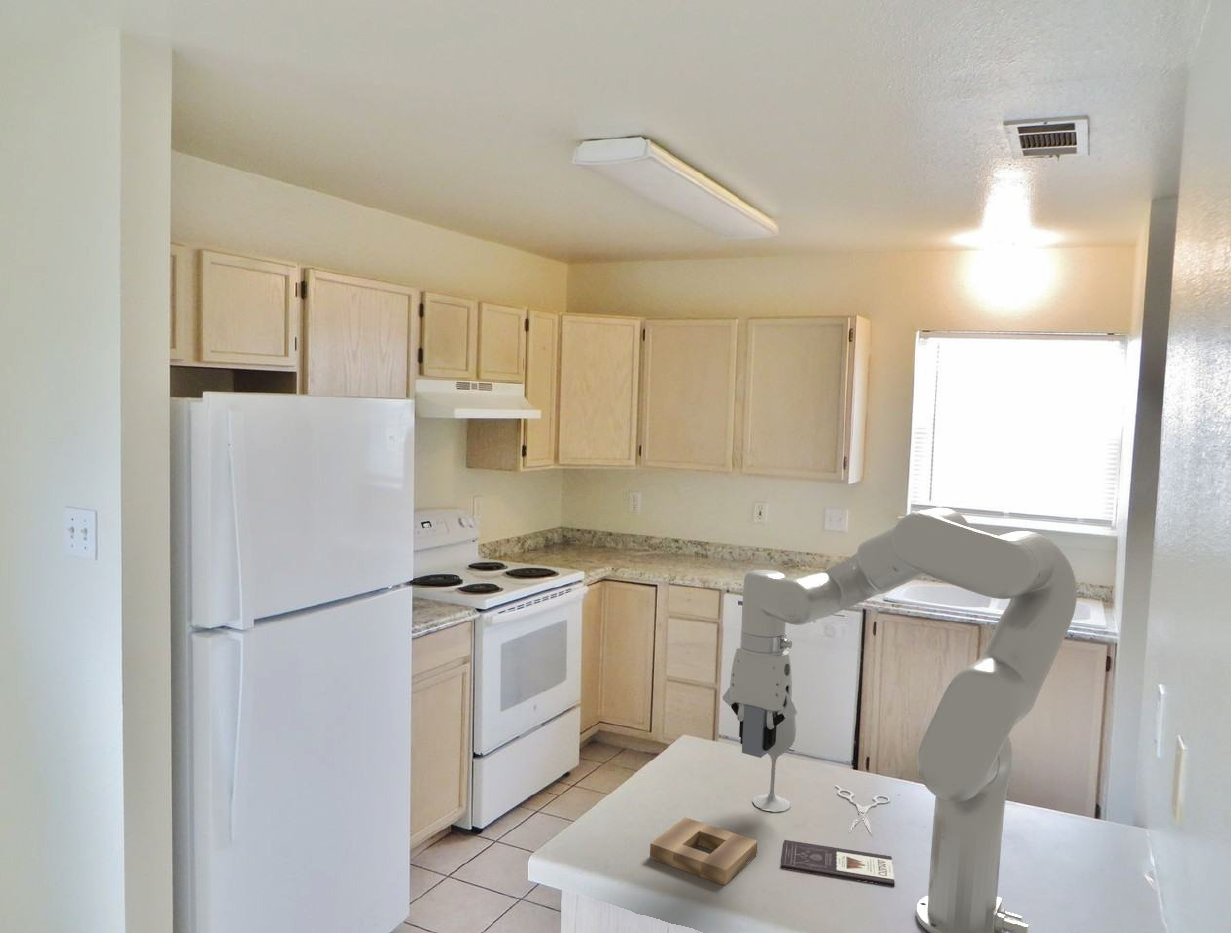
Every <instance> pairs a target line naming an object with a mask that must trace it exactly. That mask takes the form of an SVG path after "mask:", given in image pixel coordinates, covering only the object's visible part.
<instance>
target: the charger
mask: <svg viewBox="0 0 1231 933" xmlns="http://www.w3.org/2000/svg"><path fill="white" fill-rule="evenodd" d="M766 726H767V721H766V710H764V709H761V708H757V707H753V706H749V705H744V719H743V738H742V744H741V754H745V755H748V756H753V757H754V758H755V757H756V758H759V759H761V758H763V757H764V756H766V755H768V754H767V753H768V752H770V751H771V748H770V749H769V750H768V751H764V750H763V739H764V728H766Z"/></svg>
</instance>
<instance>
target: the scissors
mask: <svg viewBox="0 0 1231 933" xmlns="http://www.w3.org/2000/svg"><path fill="white" fill-rule="evenodd" d="M834 787H835V788H836V789H837V791H836V792H837V793H836V794H837V796H839V798H843V799H845V800H847V801H848V802H849V803H851V804H853V805H854V806H856V809H858V810H857V812H858V811H859V812H861V813H862V814H861V815H863V816H864V815H865V814H866V813H867V814H868V812H869V811H870V809H871V808H875V807H877V805H887V804H889V803H891V799H890V797H888V796H887V795H883V794H878V795H875V796H873V797H872V800H873V801H874V803H872V804H870V805H864V806H862V805H860V804H858V803H857V802H855V801H854V800H853V799H852V798H854V797H855V794H854V792H852V791H850V790H848V789H843V788H841V787H840V786H839V784H835V785H834ZM843 792H844V793H847V794H849V795H844V794H842V793H843ZM879 798H884V799H886V801H881V800H880V801H879V800H878V799H879ZM868 810H869V811H868ZM867 811H868V812H867ZM859 812H858V813H859ZM864 817H865V816H864ZM867 817H868V816H867ZM867 817H866V818H865V820H864V818H863V819H862V821H863V820H864V821H863V823H864V825H865V826H866V828H867V830H868V831H869V833H870V834H871V835H870V836H873V833H872V830H871V825H870V820H869V818H868V819H867ZM866 819H867V820H866ZM854 821H858V820H857V819H856V820H855V819H854V820H853V822H852V824H851V827H850V828H849V831H848V833H850V832H851V831H853V829H854V828H855V827H856V826H855V825H854V824H855V822H854ZM865 821H866V822H865ZM856 823H857V822H856ZM854 826H855V827H854ZM852 827H853V829H852ZM850 830H851V831H850Z"/></svg>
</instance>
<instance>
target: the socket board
mask: <svg viewBox="0 0 1231 933" xmlns="http://www.w3.org/2000/svg"><path fill="white" fill-rule="evenodd" d="M649 844H650V847H649V848H650V849H649V858H650V859H653V860H655V861H658V862H660V863H662V864H666V865H667V866H671V867H673V868H677V869H680V870H682V871H685V872H688V873H690V874H692V875H695V876H698V877H701V878H703V879H706V880H708V881H711V880H712V881H711V882H714V881H715V882H714V883H717V882H718V883H717V884H720V883H721V884H720V885H722V884H724V885H723V886H727V885H728V884H729V883H730V882H731V881H732V880H733V879H734V878H735V877H736V876H737V875H738V874H739V873H740V872H741V871H742V870H743V869H744V868H745V867H746V866H747V865H748V864H749V863H750V862H751V861H752V860H753V859H752V858H753V857H754V856H756V854H757V855H758V844H759V843H758V840H755V839H753V838H750V837H746V836H743V835H741V834H738V833H734V832H731V831H728V830H725V829H722V828H719V827H716V826H713V825H710V824H708V823H704V822H700V821H698V820H695V819H692V818H689V817H686V816H685V817H683V818H682V819H681V820H679V821H678V822H677V823H675V824H674V825H673V826H671V827H670V828H669V829H667V830H666V831H664V833H663V834H661V835H660V836H658V837H657V838H656V839H654V840H653V841H652V842H651V843H649ZM698 846H700V847H704V848H707V849H709V850H711V851H712V852H711V853H708V852H705V851H702V850H700V849H696V848H697V847H698ZM756 857H757V856H756ZM751 859H752V860H751ZM750 860H751V861H750ZM749 861H750V862H749ZM748 862H749V863H748ZM747 863H748V864H747ZM746 864H747V865H746ZM745 865H746V866H745ZM744 866H745V867H744ZM743 867H744V868H743ZM742 868H743V869H742ZM741 869H742V870H741ZM740 870H741V871H740ZM739 871H740V872H739ZM738 872H739V873H738ZM737 873H738V874H737ZM736 874H737V875H736ZM735 875H736V876H735ZM734 876H735V877H734ZM733 877H734V878H733ZM730 880H731V881H730ZM729 881H730V882H729ZM728 882H729V883H728ZM727 883H728V884H727ZM726 884H727V885H726Z"/></svg>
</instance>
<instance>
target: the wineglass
mask: <svg viewBox="0 0 1231 933" xmlns="http://www.w3.org/2000/svg"><path fill="white" fill-rule="evenodd" d="M792 703H793V705H794V706H795V702H794V697H793V696H792ZM782 712H785V708H784V706H783V708H782V710H781V711H779V714H781V713H782ZM796 722H797V721H796V715H795V716H794V717H792V718H789V719H787V720H784V721H782V722H781V723H780V724H778V725H777V729H776V743H775V745H774V746H773V747H772V748H771V751H770V752H768V753H767V754H766V755H768V756H769V757H770V760H771V770H770V771H771V772H770V789H769V793H768V794H759V795H756V796H754V797H753V799H752V804H753V803H754V805H755V806H757V807H759V808H761V809H770V810H775V811H778V810H779V811H781V810H785V809H788V810H790V809H791V802H790V801H789V800H788V799H786V798H785V797H781V796H779V795H776V794H775V780H776V778H775V777H776V765H777V763H776V762H777V761H778V760H777V759H778V757H780V756H782V755H783V754H784V753H785V754H786V752H787V751H788V750H789V749H790V748H791V747H792V746H793V745H794V742H795V740H796V736H797V723H796ZM754 805H753V806H754ZM755 806H754V807H755ZM757 807H756V808H757ZM761 809H760V810H761Z"/></svg>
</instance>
